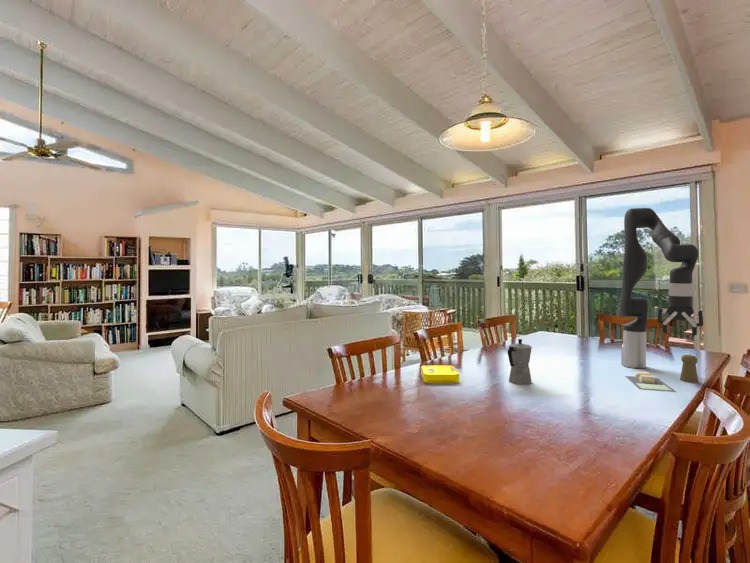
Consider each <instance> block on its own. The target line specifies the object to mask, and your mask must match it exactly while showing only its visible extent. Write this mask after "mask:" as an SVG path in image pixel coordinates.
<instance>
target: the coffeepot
mask: <svg viewBox="0 0 750 563" xmlns="http://www.w3.org/2000/svg"><path fill="white" fill-rule="evenodd" d="M517 340H518V343H512V344H509V345H508V350H507V357H508V360H509V365H510V371H509V378H508V381H509V382H510V383H511V382H512V384H514V383H515V384H516V385H521V384H523V385H525V384H526V385H530V384H531V383H532V377H531V376H532V375H531V370H530V366H529V365H530V364H529V363H530V361H531V355H532V347H533V346H531V345H530V344H525V343H523V339H522V338H519V339H517Z"/></svg>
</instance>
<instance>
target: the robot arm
mask: <svg viewBox="0 0 750 563" xmlns="http://www.w3.org/2000/svg"><path fill="white" fill-rule="evenodd" d="M623 227H624V228H623V229H624V252H623V261H622V262H623V263H622V264H623V265H622V283H621V284H622V285H621V291H620V298H619V299H620V300H619V313H620V315H621V316H622V317H631V318H632V317H635V319H634V320H632V321H630V322H626V323H624V324H623V326H622V330H623V331H622V332H623V334H622V335H623V337H622V340H623V342H622V344H621V351H620V352H621V353H620V354H621V358H620V359H621V360H620V361H621V362H620V363H621V365H622V366H623V367H626V368H633V369H646V368H647V326H648V314H649V313H648V312H649V304H648V303H649V302H648V300H647V299H646V298H645V297H641V296H640V297H638V296H637V297H635V296H634V297H631V296H632V292H633V290H634V288H635V287H636V285H637V284H638V282H639V281H640V280H641V279H642V277H644V275H645V273H646V272H647V265H648V256H647V253H646V251H645V250H644V248H643V247H642V245H641V243H640V241H639V240H638V234H637V229H645V228H647V229H649V230H651V239H652V241H653V243H654V244H655V245H656V246H658V247H659V248H660V249H661V252H662V254H663V256H664V258H665V260H667V261H669V262H671V263H681V264H680V266H679V267H676V268H672V269H670V271H669V285H668V307H667V308H663V307H659V308H658V310H657V311H658V312H657V314H658V315H657V323H658V324H661V325H662V332H663V333H664V334H665V335H668V334H669V333H668V332H669V331H668V329H669V328H668V327H669V325H668V323H669V322H670V321H672V320H674V321H682V322H683V321H688V323H689V324H691V326H692V327H691V337H693V338H695V337H696V336H697V335H698V327H699V328H700V327H703V326H704V311H703V310H702V309H698V310H694V309H693V298H694V297H693V295H694V292H693V291H694V289H693V272H694V271H695V266H696V263H697V260H698V258H699V249H698V248H697V246H695V244H689V243H687V244H685V243H684V244H681V240H680V238H679V237H678V236H676V234H674V232H672V231H670V230H669V229H668V227H667V226H666V225H665V224H664V222H663V221H662V220H661V218H660V217H659V215H658V214H657V213H656V211H654V210H653V209H652V208H650V207H635V208H628V209H627V210H626V212H625V213H624V219H623ZM666 312H667V314H668V315H669V316H668V317H667V318H666V319H665V320H663V315H665V313H666ZM693 314H695V316H696V317H697V318H698V322H697V323H696V321H695V320H694V319H693V318H692V315H693Z"/></svg>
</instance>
